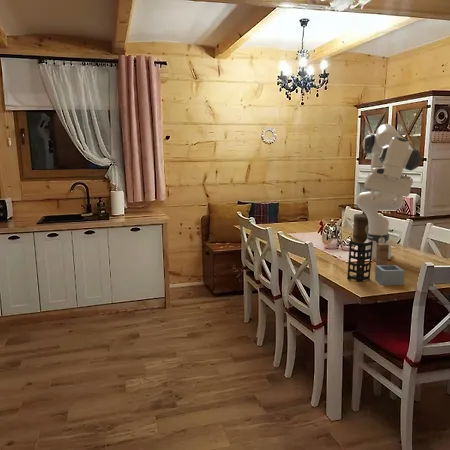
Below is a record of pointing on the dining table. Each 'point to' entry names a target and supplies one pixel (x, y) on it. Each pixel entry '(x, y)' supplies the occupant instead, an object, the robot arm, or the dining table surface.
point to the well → (389, 275)
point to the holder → (359, 261)
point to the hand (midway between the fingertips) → (383, 201)
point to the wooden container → (360, 228)
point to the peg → (382, 254)
